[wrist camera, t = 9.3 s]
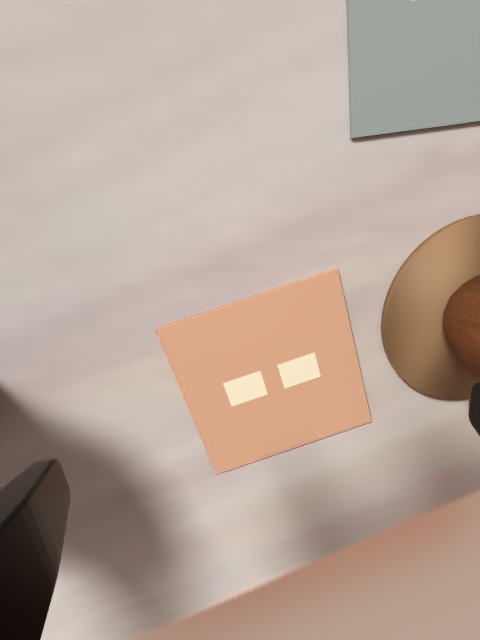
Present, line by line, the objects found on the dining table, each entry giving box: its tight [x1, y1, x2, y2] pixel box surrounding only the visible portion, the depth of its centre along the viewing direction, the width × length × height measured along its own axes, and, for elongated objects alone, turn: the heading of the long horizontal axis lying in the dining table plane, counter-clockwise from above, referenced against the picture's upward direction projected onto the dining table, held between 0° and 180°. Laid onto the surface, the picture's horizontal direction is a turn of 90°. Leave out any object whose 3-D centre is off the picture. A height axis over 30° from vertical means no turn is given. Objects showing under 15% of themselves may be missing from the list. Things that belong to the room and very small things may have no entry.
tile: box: [156, 269, 372, 474], centre depth 23 cm, size 10×10×1 cm
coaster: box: [381, 215, 480, 400], centre depth 23 cm, size 11×11×1 cm
